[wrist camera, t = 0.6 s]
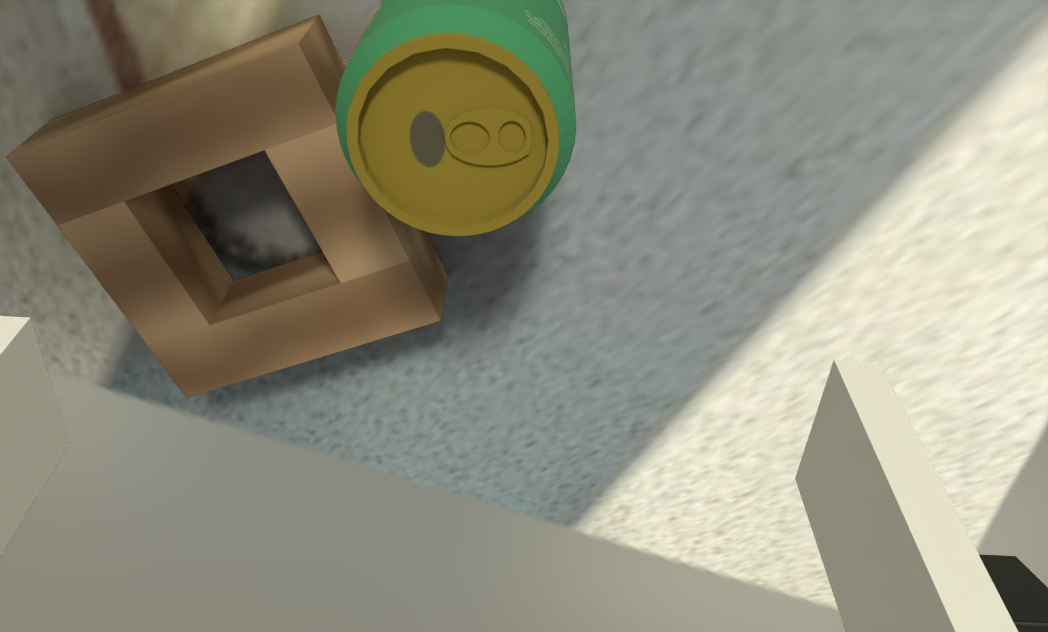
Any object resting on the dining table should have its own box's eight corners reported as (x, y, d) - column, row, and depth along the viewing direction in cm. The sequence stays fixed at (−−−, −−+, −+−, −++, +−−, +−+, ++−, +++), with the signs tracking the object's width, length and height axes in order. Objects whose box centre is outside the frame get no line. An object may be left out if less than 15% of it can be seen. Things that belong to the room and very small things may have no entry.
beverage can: (371, -65, 36) (308, 19, 26) (567, -70, 36) (578, 13, 26) (393, 121, 41) (346, 253, 31) (567, 117, 40) (577, 249, 31)
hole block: (48, 120, 41) (5, 157, 38) (319, 14, 38) (298, 43, 35) (211, 350, 48) (186, 397, 45) (447, 276, 45) (440, 320, 42)
